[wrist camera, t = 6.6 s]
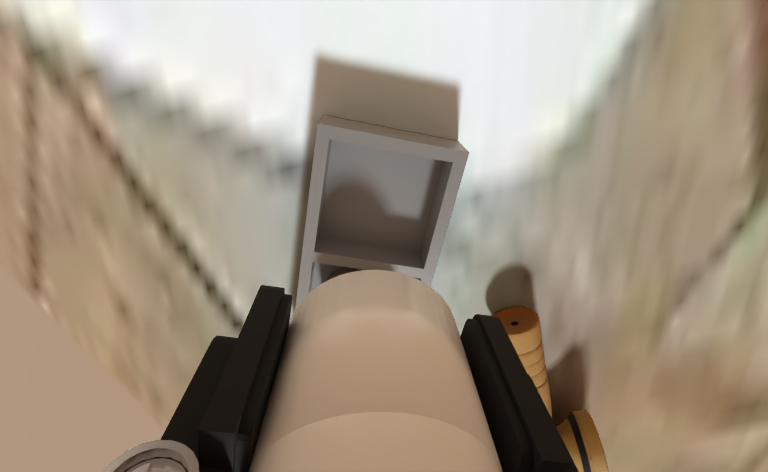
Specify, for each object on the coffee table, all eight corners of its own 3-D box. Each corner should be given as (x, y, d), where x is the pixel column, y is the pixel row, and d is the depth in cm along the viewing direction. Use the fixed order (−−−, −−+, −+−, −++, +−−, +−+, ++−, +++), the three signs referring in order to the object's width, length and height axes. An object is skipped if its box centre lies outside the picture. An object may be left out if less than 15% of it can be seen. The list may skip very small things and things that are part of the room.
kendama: (433, 317, 27) (497, 503, 32) (467, 370, 21) (539, 589, 26) (536, 276, 27) (583, 466, 32) (597, 316, 21) (643, 542, 26)
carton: (458, 141, 20) (495, 179, 14) (403, 342, 26) (413, 430, 20) (323, 114, 20) (302, 143, 14) (297, 327, 25) (273, 415, 19)
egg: (477, 284, 10) (632, 617, 4) (434, 409, 11) (497, 757, 6) (295, 257, 9) (179, 596, 3) (281, 393, 11) (190, 758, 5)
